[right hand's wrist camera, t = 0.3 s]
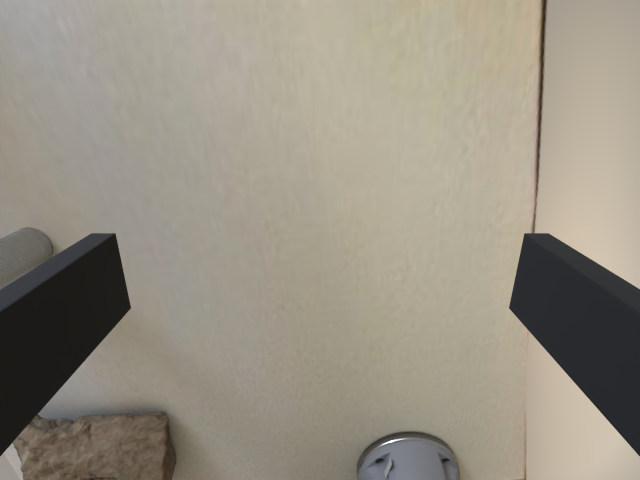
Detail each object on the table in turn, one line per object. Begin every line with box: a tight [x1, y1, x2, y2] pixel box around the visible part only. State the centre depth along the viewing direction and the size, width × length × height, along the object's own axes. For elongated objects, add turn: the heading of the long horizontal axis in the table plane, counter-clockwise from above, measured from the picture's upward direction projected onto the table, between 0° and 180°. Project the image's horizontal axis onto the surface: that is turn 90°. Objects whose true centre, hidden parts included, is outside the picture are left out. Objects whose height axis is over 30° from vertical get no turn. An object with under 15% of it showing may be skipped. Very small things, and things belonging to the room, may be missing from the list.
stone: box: [12, 412, 176, 480], centre depth 54 cm, size 21×15×6 cm
